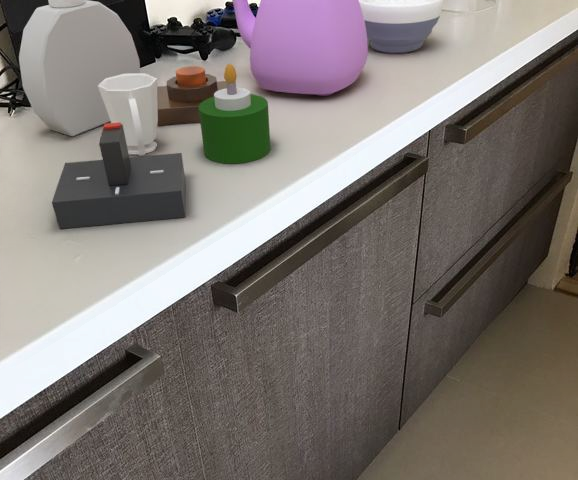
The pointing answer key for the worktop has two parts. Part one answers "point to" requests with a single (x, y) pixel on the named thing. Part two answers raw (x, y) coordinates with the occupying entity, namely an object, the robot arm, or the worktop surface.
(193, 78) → the power button
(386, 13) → the bowl
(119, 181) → the block
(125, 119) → the cup
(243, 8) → the teapot
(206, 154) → the candle
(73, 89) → the soap bottle
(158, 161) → the dial panel
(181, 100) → the switch block
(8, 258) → the worktop surface
